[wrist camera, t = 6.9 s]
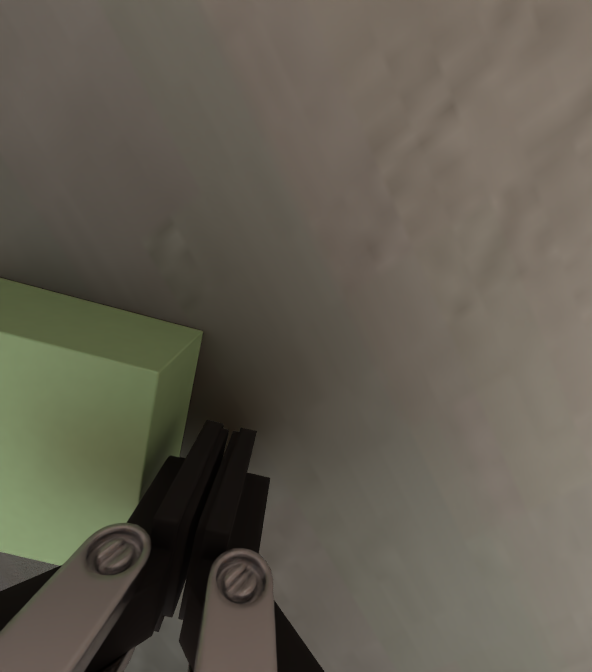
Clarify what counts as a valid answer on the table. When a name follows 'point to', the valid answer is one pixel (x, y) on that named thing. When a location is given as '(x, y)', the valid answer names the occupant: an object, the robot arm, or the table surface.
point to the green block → (83, 415)
